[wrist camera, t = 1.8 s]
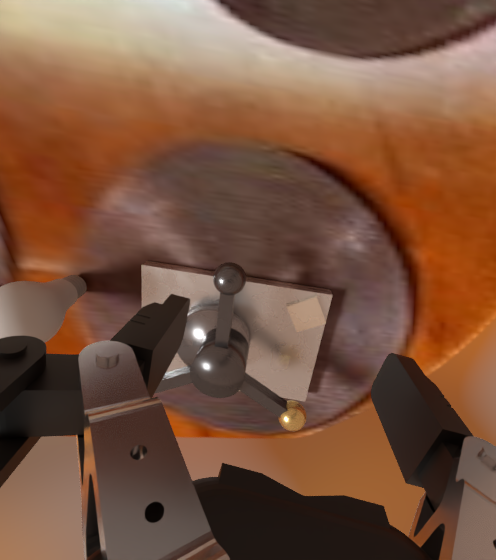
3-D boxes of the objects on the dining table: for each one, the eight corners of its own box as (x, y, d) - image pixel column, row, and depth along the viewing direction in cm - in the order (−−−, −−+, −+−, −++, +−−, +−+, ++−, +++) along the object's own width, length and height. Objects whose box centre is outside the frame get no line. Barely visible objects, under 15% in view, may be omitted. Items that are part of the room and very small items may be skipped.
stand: (330, 289, 31) (333, 296, 29) (304, 392, 36) (305, 403, 34) (147, 260, 32) (139, 266, 30) (147, 364, 37) (140, 374, 35)
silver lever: (333, 264, 28) (346, 287, 22) (300, 396, 34) (304, 441, 28) (146, 235, 29) (114, 251, 23) (146, 369, 35) (121, 407, 29)
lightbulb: (101, 313, 35) (28, 373, 25) (53, 295, 35) (-42, 349, 25) (109, 268, 33) (32, 314, 22) (57, 249, 32) (-45, 286, 22)
